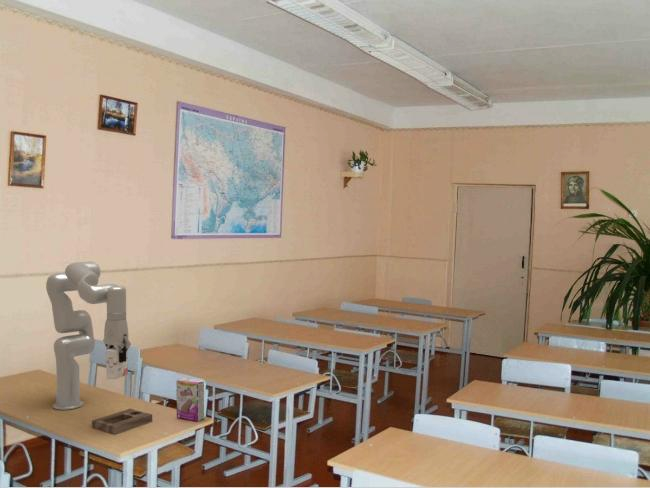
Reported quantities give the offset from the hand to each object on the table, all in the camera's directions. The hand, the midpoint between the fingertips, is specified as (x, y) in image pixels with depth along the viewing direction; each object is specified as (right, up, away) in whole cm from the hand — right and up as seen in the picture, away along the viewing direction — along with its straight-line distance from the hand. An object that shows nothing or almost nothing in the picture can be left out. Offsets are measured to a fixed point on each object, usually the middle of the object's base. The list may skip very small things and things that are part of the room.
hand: (117, 360), depth 259 cm
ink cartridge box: (0, -7, 0) cm, 7 cm away
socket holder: (+1, -27, +3) cm, 27 cm away
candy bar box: (+27, -27, +11) cm, 40 cm away
